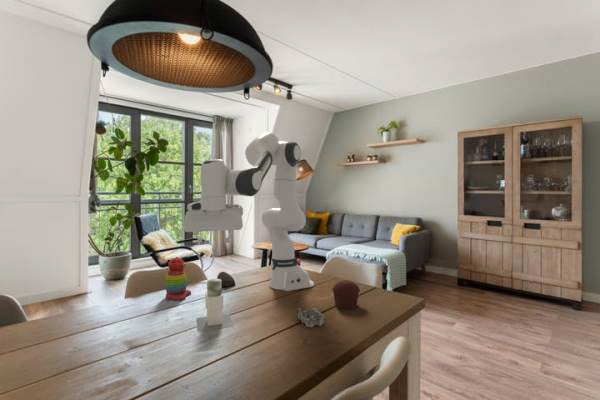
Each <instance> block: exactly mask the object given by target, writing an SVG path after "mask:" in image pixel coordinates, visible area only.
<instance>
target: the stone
mask: <svg viewBox="0 0 600 400" xmlns="http://www.w3.org/2000/svg"><path fill="white" fill-rule="evenodd" d="M216 279H221V280H222V288H224V286H225V287H229V286H235V285H236V281H235V279H234V277H233V276H232V275H231V274H229V273H228V272H225V271H221V272H219V273H218V274H217V277H216Z"/></svg>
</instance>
